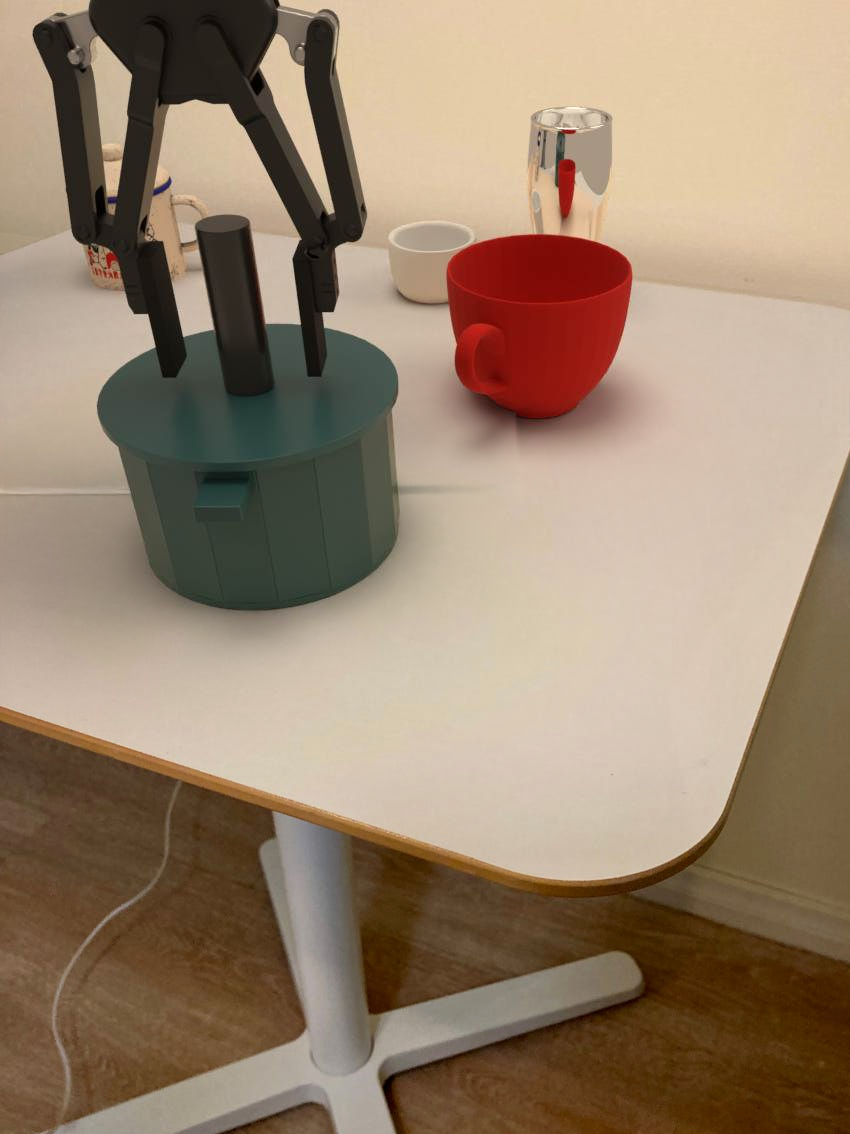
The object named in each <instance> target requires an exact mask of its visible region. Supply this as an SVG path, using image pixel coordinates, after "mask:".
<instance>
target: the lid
mask: <svg viewBox="0 0 850 1134" xmlns="http://www.w3.org/2000/svg"><path fill="white" fill-rule="evenodd" d="M194 232H195V237H196V239H197V243H198V248H199V249H198V253H199V259H200V263H201V269H202V276H203V280H204V285H205V291H206V296H207V302H208V307H209V311H210V316H211V321H212V322H211V323H212V328H213V329H209V330H205V331H201V332H197V333H193V334H189V335H185V336H183V338H184V343H185V348H186V353H187V357H186V359H185V361H184V363H183V365H182V367H181V369H180V371H179V373H178V375H177V377H176V378H163V377H162V373H161V369H160V364H159V360H158V355H157V351H156V347H153V348H151V349H148V350H147V351H144V352H143V353H141V354H139V355H137V356H136V357H134V358H132V359H131V360H129V361H128V362H126V363H125V364H123V365H122V366H120V367H119V368H118V369H117V370H116V371H115V372H114V373H113V374H112V375H110V376H109V378H108V379H107V381H106V382H105V383H104V385H103V386H102V387H101V390H100V392H99V394H98V397H97V402H96V412H97V417H98V421H99V424H100V426H101V430H102V432H103V433H104V434H105V435H106V437H107V438H108V440H109V441H110V442H112V444H114V445H115V446H116V447H117V448H118V447H119V448H120V449H122V450H124V451H125V452H127V453H129V454H130V455H132V456H135V457H137V458H140V459H142V460H144V461H147V462H151V463H154V464H157V465H161V466H165V467H171V468H176V469H182V470H191V471H201V472H239V471H251V470H261V469H268V468H274V467H280V466H286V465H290V464H294V463H298V462H302V461H306V460H310V459H313V458H316V457H319V456H322V455H325V454H328V453H330V452H333V451H335V450H337V449H340V448H342V447H345V446H346V445H348V444H350V443H352V442H354V441H356V440H358V439H360V438H361V437H363V436H364V435H366V434H367V433H369V432H370V431H372V430H373V429H374V428H375V427H376V426H378V425H379V424H380V423H381V422H382V421H383V420H384V419H385V418H386V417H387V415H388V414H389V413H390V412H391V410H392V411H393V408H394V407H395V405H396V403H397V399H398V396H399V384H400V383H399V375H398V371H397V368H396V365H395V364H394V362H393V361H392V359H391V358H390V357H389V356H388V355H387V354H386V352H385V351H383V350H382V349H380V347H378V346H376V345H375V344H373V343H371V342H369V341H368V340H365V339H364V338H361V337H358V336H357V335H354V334H351V333H348V332H344V331H341V330H337V329H333V328H328V327H324V331H325V339H326V348H327V358H326V362H325V365H324V369H323V372H322V376H321V377H308V376H307V368H306V360H305V353H304V345H303V337H302V330H301V324H296V323H267V322H266V317H265V310H264V303H263V298H262V291H261V284H260V278H259V272H258V271H259V270H258V265H257V258H256V251H255V246H254V239H253V232H252V225H251V221H250V219H249V218H248V217H246V216H243V215H239V214H231V213H229V214H227V213H226V214H225V213H224V214H215V215H210V217H207V218H204V219H202V218H201V219H199V220H197V222H196V223H195V224H194Z"/></svg>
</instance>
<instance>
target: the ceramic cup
mask: <svg viewBox="0 0 850 1134" xmlns="http://www.w3.org/2000/svg"><path fill="white" fill-rule="evenodd" d="M446 280H447V292H448V301H449V302H448V308H449V317H450V321H451V327H452V332H453V337H454V340H455V343H456V346H455V351H454V369H455V372H456V376H457V377H458V379H459V381H460V383H461V384H462V385H463V386H464V387H465V388H466V389H467V390H469V391H471V392H474V393H477V394H483V395H486V396H487V397H488V398H489V399H491V400H492V401H493V402H494V403H495V404H497V405H498V406H499V407H502V408H504V409H505V410H509V411H512V412H515V416H516V417H521V418H528V419H546V418H552V417H557V416H561V415H564V414H566V413H569V412H571V411H572V410H574V409H575V408H576V407H577V406H578V405H579V403H580V402H581V401H582V400H584V399H585V398H586V397H587V396H588V395H589V394H590V393H591V392H592V391H593V390H594V389H595V388H596V387H597V385H598V384H599V383H600V382H601V381H602V380H603V378H604V376H605V375H606V374H607V372H608V371H609V369H610V367H611V365H613V362H614V359H615V357H616V355H617V352H618V349H619V346H620V345H621V340H622V338H623V334H624V330H625V328H626V327H625V326H626V323H627V319H628V318H627V317H628V313H629V308H630V307H629V306H630V300H631V295H632V286H633V269H632V264H631V262H630V261H629V259H628V258H627V256H625V255H624V254H623V253H622V252H620V251H619V250H617V249H615V248H613V247H611V246H610V245H606V244H604V243H601V242H599V243H598V242H595V241H591V240H587V239H583V238H578V237H571V236H564V235H551V234H533V233H527V234H514V235H508V236H507V235H506V236H500V237H494V238H491V239H487V240H483V241H480V242H477V243H476V244H474V245H471V246H469V247H467V248H465V249H463V250H461V251H459V252H458V253H457V254H456V255H454V256H453V257H452V259H451V260H450V261H449V263H448V266H447V271H446Z"/></svg>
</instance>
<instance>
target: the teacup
mask: <svg viewBox="0 0 850 1134" xmlns="http://www.w3.org/2000/svg"><path fill="white" fill-rule="evenodd" d="M387 237H388V238H387V252H388V253H387V254H388V260H389V266H390V273H391V275H392V280H393V282H394V284H395V286H396V288H397V290H398V291H399V292H400V293H401V295H402V296H403V297H405V298H406V299H407V300H409V301H411V302H415V303H420V304H431V305H436V304H438V305H439V304H445V303H449V301H448V292H447V280H446V271H447V266H448V263H449V261H450V260H451V259H452V257H453V256H454V255H456V254H457V253H458V252H459V251H461V250H463V249H465V248H467V247H469V246H471V245H474V244H476V243H478V242H477V235H476V234H475V231H474V230H473V229H472V228H470V227H468V226H467V225H464V224H461V223H457V222H452V221H446V220H421V221H414V222H409V223H405V224H402V225H400V226H398V227H396V228H394V229H393V230H391V231H390V232H389V234H388V236H387Z"/></svg>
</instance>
